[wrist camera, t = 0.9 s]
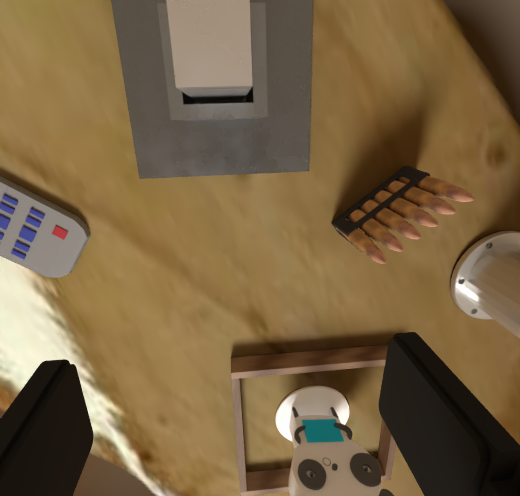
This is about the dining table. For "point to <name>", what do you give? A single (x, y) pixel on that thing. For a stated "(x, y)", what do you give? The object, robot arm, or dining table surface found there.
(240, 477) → the frame
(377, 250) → the ammunition clip
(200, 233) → the dining table surface
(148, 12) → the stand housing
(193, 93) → the column
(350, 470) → the panda figurine
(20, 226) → the remote control
